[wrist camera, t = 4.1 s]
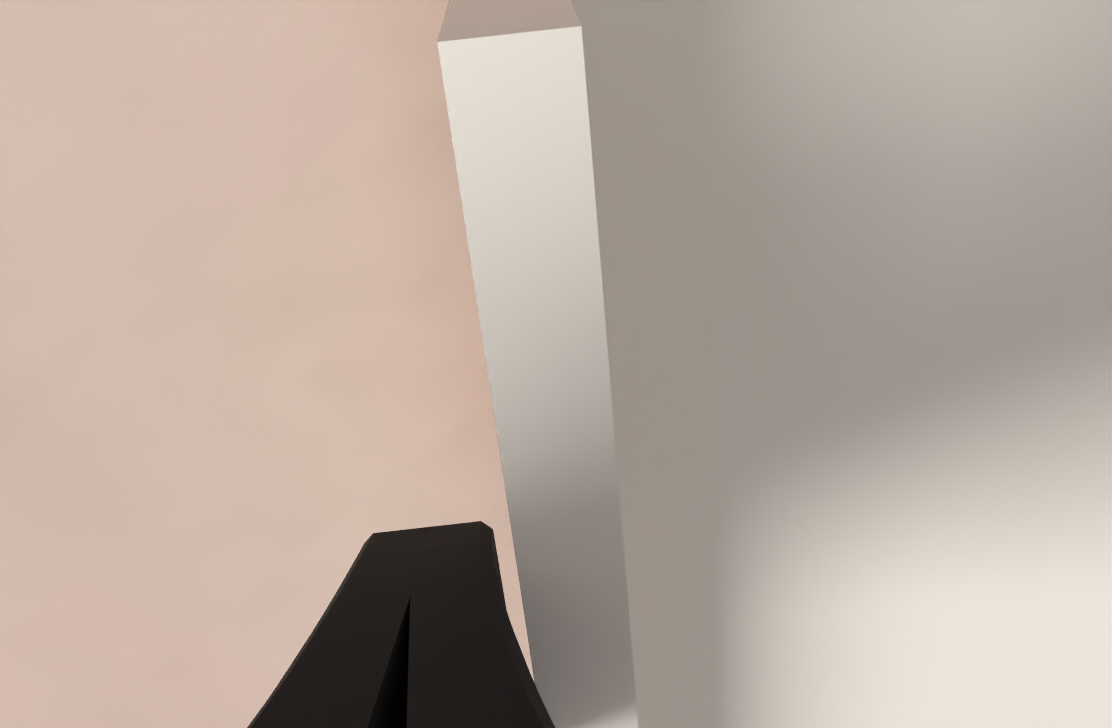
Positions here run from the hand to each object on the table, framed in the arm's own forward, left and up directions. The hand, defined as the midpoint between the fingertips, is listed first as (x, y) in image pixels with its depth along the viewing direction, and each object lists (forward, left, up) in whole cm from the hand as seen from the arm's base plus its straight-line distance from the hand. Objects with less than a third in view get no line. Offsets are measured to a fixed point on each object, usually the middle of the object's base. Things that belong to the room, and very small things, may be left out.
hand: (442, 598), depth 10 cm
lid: (0, -6, -2) cm, 7 cm away
